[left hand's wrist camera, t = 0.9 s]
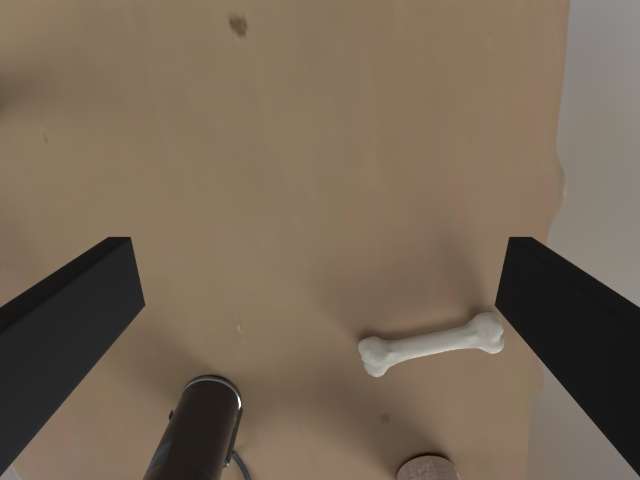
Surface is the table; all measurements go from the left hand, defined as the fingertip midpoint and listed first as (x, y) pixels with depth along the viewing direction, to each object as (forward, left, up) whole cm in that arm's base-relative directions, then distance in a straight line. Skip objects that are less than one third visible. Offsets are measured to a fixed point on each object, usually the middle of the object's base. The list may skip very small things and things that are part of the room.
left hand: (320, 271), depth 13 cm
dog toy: (+27, +16, -32) cm, 45 cm away
